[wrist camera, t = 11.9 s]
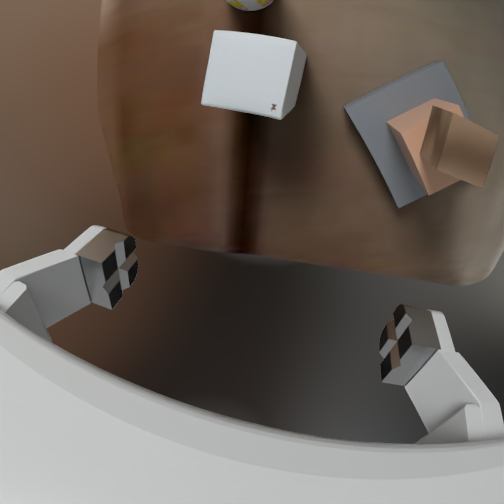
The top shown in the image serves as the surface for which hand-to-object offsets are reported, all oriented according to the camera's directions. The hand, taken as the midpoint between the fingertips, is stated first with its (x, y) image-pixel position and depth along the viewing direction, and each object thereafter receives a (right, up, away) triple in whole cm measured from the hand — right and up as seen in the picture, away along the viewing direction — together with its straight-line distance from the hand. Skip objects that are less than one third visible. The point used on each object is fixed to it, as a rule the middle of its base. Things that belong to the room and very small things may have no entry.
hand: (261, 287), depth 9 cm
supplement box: (+2, +23, +23) cm, 32 cm away
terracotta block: (+20, +14, +20) cm, 31 cm away
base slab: (+20, +16, +22) cm, 34 cm away
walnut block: (+18, +12, +13) cm, 25 cm away
